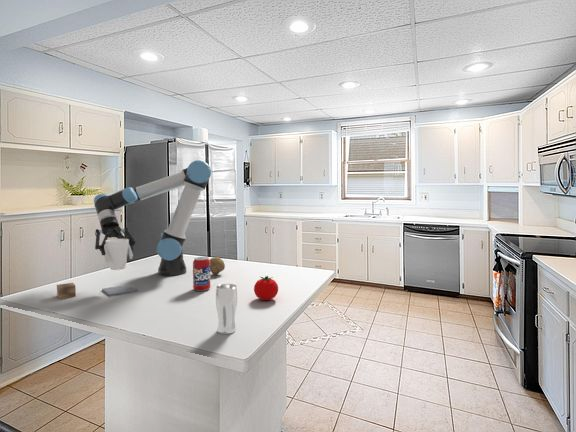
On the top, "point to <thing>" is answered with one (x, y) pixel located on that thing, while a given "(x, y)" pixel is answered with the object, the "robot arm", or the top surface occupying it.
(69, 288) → the walnut block
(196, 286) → the soda can
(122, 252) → the foam cup
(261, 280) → the tomato
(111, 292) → the mat
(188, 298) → the top surface
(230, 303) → the beer glass
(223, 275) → the top surface
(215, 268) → the natural sponge
